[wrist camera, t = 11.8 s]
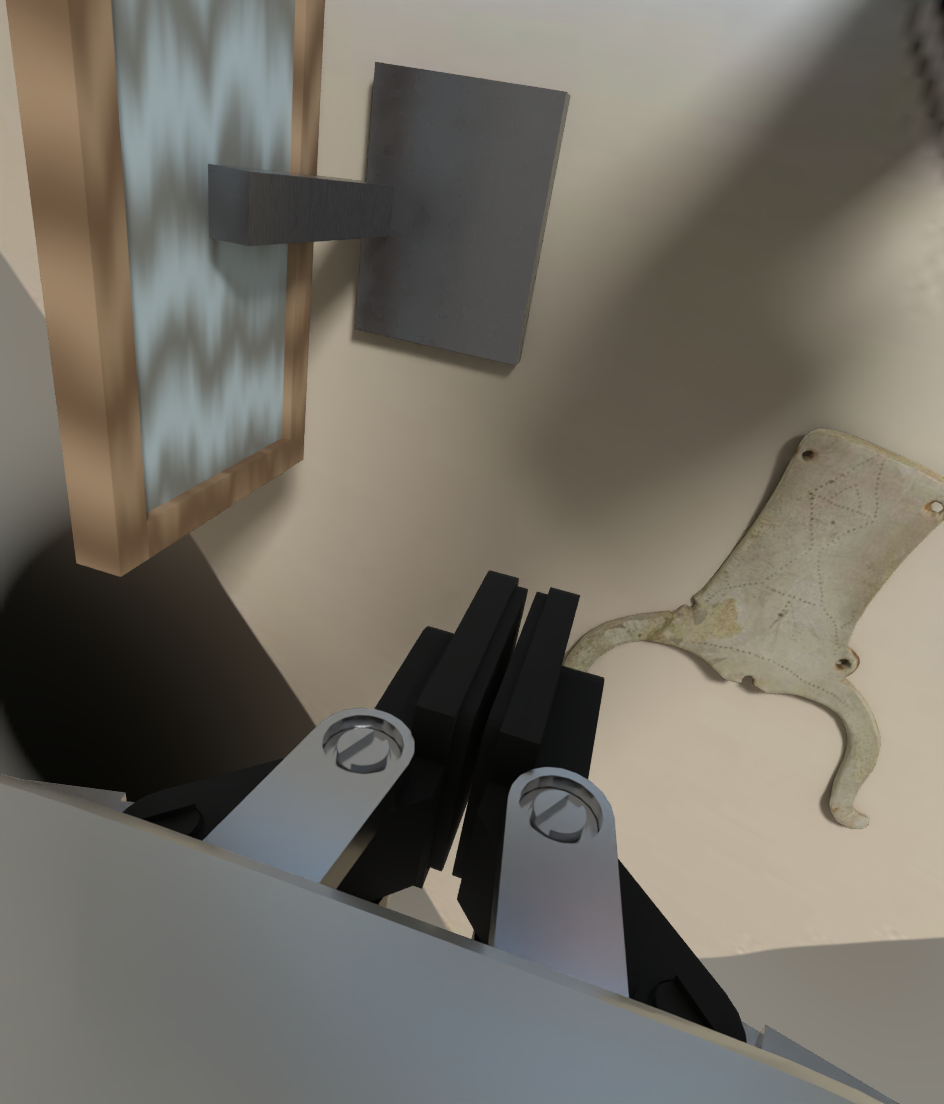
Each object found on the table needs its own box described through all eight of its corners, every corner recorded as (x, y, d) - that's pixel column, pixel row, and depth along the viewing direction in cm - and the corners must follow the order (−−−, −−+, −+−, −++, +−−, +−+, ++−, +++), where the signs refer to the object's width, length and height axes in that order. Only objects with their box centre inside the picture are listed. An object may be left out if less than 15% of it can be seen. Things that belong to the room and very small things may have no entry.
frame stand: (384, 66, 44) (204, -25, 27) (570, 95, 42) (497, 17, 25) (362, 326, 51) (211, 378, 35) (519, 361, 49) (438, 434, 33)
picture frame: (277, -173, 34) (-75, -511, 18) (332, -167, 33) (20, -510, 17) (265, 449, 49) (67, 560, 33) (303, 459, 48) (120, 576, 32)
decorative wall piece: (651, 364, 48) (525, 689, 62) (649, 372, 45) (518, 710, 60) (1103, 512, 45) (861, 822, 59) (1130, 530, 42) (869, 849, 56)
